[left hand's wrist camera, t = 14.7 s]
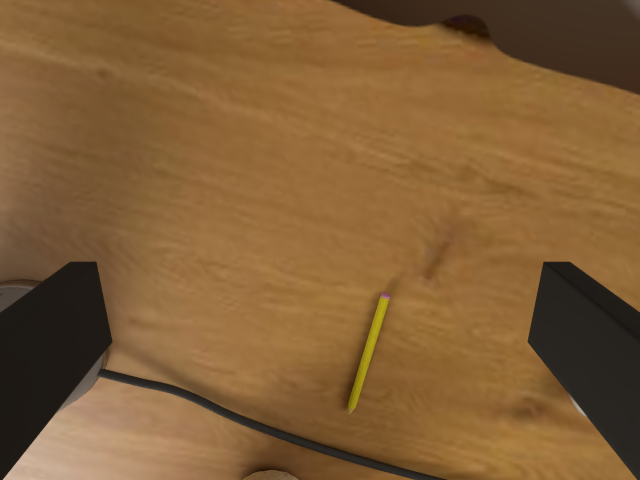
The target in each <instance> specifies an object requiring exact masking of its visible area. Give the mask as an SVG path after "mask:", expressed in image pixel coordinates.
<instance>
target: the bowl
mask: <svg viewBox="0 0 640 480" xmlns="http://www.w3.org/2000/svg"><path fill="white" fill-rule="evenodd" d="M243 480H299V479H297V478H296V477H294V476H292V475H290V474H289V473H287V472H283V471H282V472H281V471H276V470H268V471H259V472H255V473H253V474H251V475H249V476H248V477H245V478H244V479H243Z"/></svg>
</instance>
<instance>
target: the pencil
mask: <svg viewBox="0 0 640 480" xmlns="http://www.w3.org/2000/svg"><path fill="white" fill-rule="evenodd" d="M389 299H390V295H389V294H388V293H381V296H380V300H379V303H378V306H377V310H376V313H375V316H374V319H373V323H372V326H371V329H370V333H369V336H368V339H367V342H366V346H365V349H364V352H363V356H362V359H361V362H360V365H359V369H358V372H357V375H356V379H355V382H354V385H353V389H352V392H351V395H350V398H349V402H348V413H349V414H350V413H351V412H352V411H353V410H354V409H355V407H356V404H357V401H358V398H359V395H360V392H361V388H362V385H363V382H364V379H365V376H366V372H367V369H368V366H369V363H370V360H371V356H372V353H373V350H374V347H375V344H376V340H377V337H378V334H379V331H380V328H381V324H382V321H383V318H384V315H385V312H386V308H387V305H388V302H389Z"/></svg>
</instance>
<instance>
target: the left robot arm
mask: <svg viewBox="0 0 640 480" xmlns="http://www.w3.org/2000/svg"><path fill="white" fill-rule="evenodd" d="M111 343H112V337H111V332H110V327H109V322H108V317H107V312H106V307H105V302H104V297H103V292H102V287H101V282H100V277H99V272H98V267H97V262H69V263H68V264H67V265H65V266H64V267H62V268H61V269H60V270H58V271H57V272H55V273H54V274H53V275H51V276H50V277H49V278H47V279H46V280H44V281H43V282H38V281H30V280H15V281H8V282H4V283H1V284H0V480H3V479H4V477H5V476H6V475H7V474H8V472H9V471H10V470H11V469H12V467H13V466H14V465H15V464H16V462H17V461H18V460H19V459H20V457H21V456H22V455H23V454H24V452H25V451H26V450H27V449H28V447H29V446H30V445H31V444H32V442H33V441H34V440H35V439H36V437H37V436H38V435H39V433H40V432H41V431H42V430H43V428H44V427H45V426H46V425H47V423H48V422H49V421H50V420H51V418H52V417H53V416H54V415H55V413H57V412H58V411H60V410H62V409H63V408H65V407H66V406H68V405H69V404H71V403H72V402H74V401H76V400H77V399H79V398H80V397H81V396H83V395H84V394H85V393H86V392H88V391H89V390H90V389H91V388H92V386H93V385H94V384H95V382H96V381H97V380H98V378H99V377H103V378H107V379H111V380H115V381H119V382H123V383H127V384H131V385H135V386H139V387H144V388H149V389H154V390H159V391H163V392H167V393H171V394H174V395H177V396H179V397H182V398H185V399H187V400H190V401H192V402H194V403H196V404H199V405H201V406H203V407H205V408H207V409H209V410H211V411H213V412H215V413H217V414H219V415H221V416H223V417H225V418H228V419H230V420H232V421H235V422H237V423H239V424H242V425H244V426H247V427H249V428H252V429H255V430H257V431H260V432H263V433H265V434H268V435H271V436H273V437H276V438H279V439H282V440H285V441H288V442H291V443H293V444H296V445H299V446H302V447H305V448H308V449H311V450H314V451H317V452H320V453H323V454H326V455H330V456H333V457H336V458H339V459H343V460H346V461H349V462H353V463H356V464H359V465H363V466H366V467H370V468H373V469H377V470H381V471H384V472H388V473H392V474H396V475H399V476H403V477H407V478H411V479H415V480H446V479H442V478H438V477H434V476H430V475H426V474H422V473H418V472H414V471H411V470H407V469H403V468H399V467H395V466H392V465H388V464H384V463H381V462H377V461H374V460H370V459H367V458H363V457H360V456H356V455H353V454H350V453H346V452H343V451H340V450H337V449H333V448H330V447H327V446H324V445H321V444H318V443H315V442H312V441H309V440H306V439H303V438H300V437H297V436H294V435H292V434H289V433H286V432H283V431H280V430H277V429H275V428H272V427H269V426H267V425H264V424H261V423H259V422H256V421H254V420H251V419H249V418H246V417H244V416H241V415H239V414H236V413H234V412H232V411H229V410H227V409H225V408H223V407H221V406H219V405H217V404H215V403H213V402H211V401H209V400H207V399H205V398H203V397H201V396H199V395H196V394H194V393H192V392H189V391H187V390H184V389H181V388H179V387H176V386H172V385H169V384H165V383H161V382H156V381H151V380H146V379H142V378H137V377H133V376H129V375H125V374H121V373H118V372H114V371H110V370H106V369H105V366H106V363H107V359H108V347H109V346H110V344H111ZM528 343H529V344H530V346H531V347H532V348H533V349H534V351H535V352H536V353H537V354H538V356H539V357H540V358H541V359H542V361H543V362H544V363H545V364H546V366H547V367H548V368H549V369H550V371H551V372H552V373H553V374H554V376H555V377H556V378H557V380H558V381H559V382H560V383H561V385H562V386H563V387H564V388H565V390H566V391H567V392H568V393H569V395H570V396H571V397H572V398H573V400H574V401H575V402H576V403H577V405H578V406H579V407H580V408H581V410H582V411H583V412H584V413H585V415H586V416H587V417H588V418H589V420H590V421H591V422H592V423H593V425H594V426H595V427H596V428H597V430H598V431H599V432H600V433H601V435H602V436H603V437H604V439H605V440H606V441H607V442H608V444H609V445H610V446H611V447H612V449H613V450H614V451H615V452H616V454H617V455H618V456H619V457H620V459H621V460H622V461H623V462H624V464H625V465H626V466H627V467H628V469H629V470H630V471H631V472H632V474H633V475H634V476H635V477H636V479H637V480H640V312H638V311H637V310H636V309H634V308H633V307H632V306H630V305H629V304H627V303H626V302H625V301H623V300H622V299H620V298H619V297H618V296H616V295H615V294H614V293H612V292H611V291H609V290H608V289H607V288H605V287H604V286H602V285H601V284H600V283H598V282H597V281H596V280H594V279H593V278H591V277H590V276H589V275H587V274H586V273H585V272H583V271H582V270H580V269H579V268H578V267H576V266H575V265H573V264H572V263H571V262H543V267H542V272H541V277H540V282H539V287H538V292H537V297H536V302H535V307H534V312H533V317H532V322H531V327H530V332H529V337H528Z"/></svg>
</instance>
